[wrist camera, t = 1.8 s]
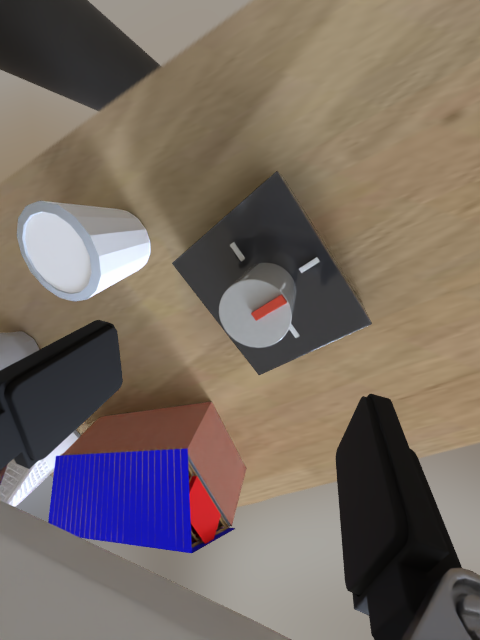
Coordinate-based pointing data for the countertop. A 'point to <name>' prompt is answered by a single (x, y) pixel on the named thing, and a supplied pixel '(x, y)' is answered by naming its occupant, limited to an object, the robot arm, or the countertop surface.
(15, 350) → the salt shaker
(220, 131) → the countertop surface
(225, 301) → the hob knob
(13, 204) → the countertop surface
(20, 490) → the skyscraper
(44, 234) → the shot glass
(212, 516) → the house
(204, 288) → the hob panel
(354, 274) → the countertop surface
